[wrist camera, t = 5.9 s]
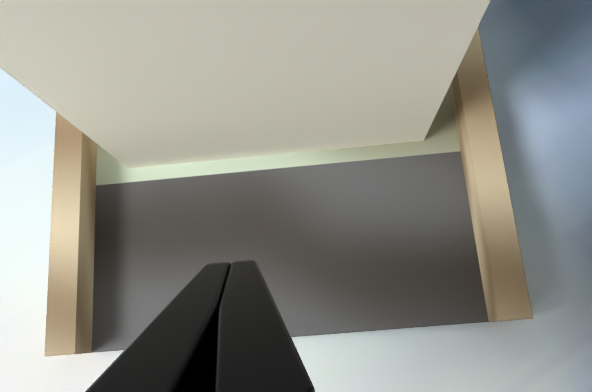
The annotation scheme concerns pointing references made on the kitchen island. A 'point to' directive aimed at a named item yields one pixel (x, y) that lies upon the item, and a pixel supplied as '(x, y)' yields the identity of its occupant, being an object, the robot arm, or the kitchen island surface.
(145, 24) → the block
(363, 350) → the kitchen island surface
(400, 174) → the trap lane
